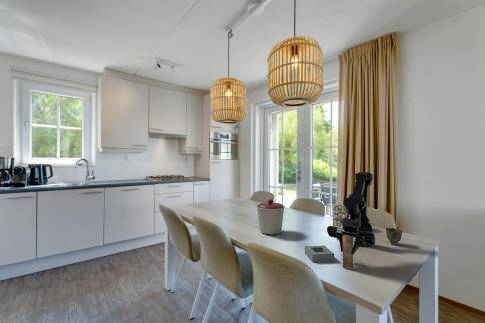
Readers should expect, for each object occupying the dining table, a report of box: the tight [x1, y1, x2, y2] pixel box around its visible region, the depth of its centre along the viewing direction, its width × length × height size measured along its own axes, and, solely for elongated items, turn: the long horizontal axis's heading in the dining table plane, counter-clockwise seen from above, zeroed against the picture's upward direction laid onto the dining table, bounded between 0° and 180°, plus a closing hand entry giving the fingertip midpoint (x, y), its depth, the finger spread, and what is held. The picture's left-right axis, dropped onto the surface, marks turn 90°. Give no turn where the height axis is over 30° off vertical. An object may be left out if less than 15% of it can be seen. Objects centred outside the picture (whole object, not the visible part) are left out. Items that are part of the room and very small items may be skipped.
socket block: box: [304, 245, 335, 263], centre depth 107 cm, size 10×10×4 cm
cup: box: [385, 227, 403, 246], centre depth 124 cm, size 8×7×8 cm
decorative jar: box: [332, 199, 347, 231], centre depth 155 cm, size 12×12×18 cm
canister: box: [255, 198, 286, 236], centre depth 145 cm, size 18×18×21 cm
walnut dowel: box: [342, 235, 354, 271], centre depth 97 cm, size 4×4×13 cm
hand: (347, 252), depth 96 cm, fingers closed on walnut dowel, 4 cm apart
